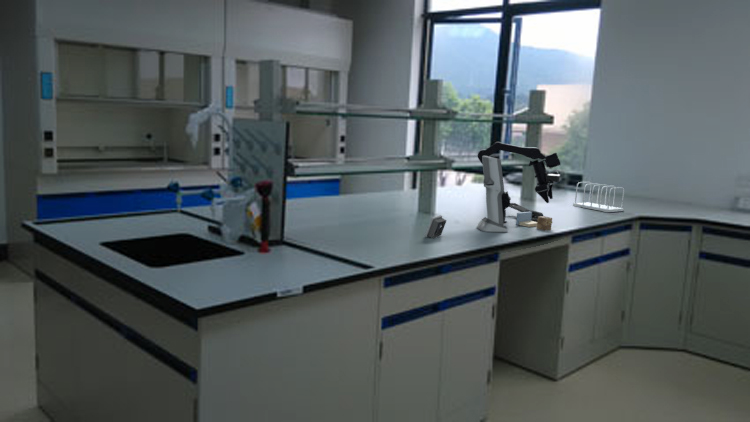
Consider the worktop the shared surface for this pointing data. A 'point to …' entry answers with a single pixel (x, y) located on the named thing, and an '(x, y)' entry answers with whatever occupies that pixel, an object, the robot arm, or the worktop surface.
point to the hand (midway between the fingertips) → (549, 200)
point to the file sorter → (599, 206)
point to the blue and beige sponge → (525, 219)
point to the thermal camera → (493, 196)
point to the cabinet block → (544, 223)
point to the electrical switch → (435, 227)
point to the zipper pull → (522, 209)
